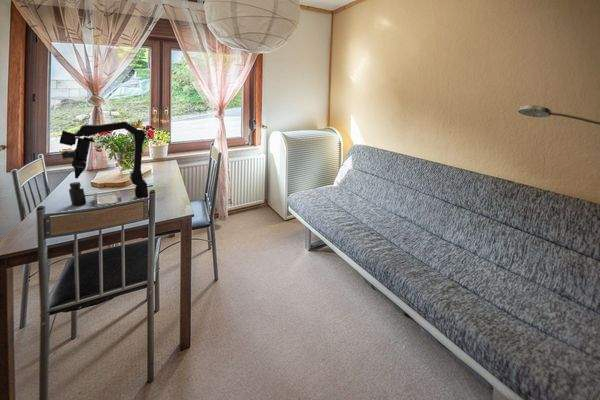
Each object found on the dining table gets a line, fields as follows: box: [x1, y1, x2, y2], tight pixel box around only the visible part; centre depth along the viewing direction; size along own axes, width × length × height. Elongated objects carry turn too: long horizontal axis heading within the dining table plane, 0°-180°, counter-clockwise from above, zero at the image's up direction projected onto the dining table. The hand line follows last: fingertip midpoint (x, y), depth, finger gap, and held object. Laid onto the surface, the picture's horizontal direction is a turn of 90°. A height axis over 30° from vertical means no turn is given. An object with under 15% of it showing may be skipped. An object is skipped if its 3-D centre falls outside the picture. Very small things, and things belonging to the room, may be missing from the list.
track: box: [93, 190, 123, 207], centre depth 191 cm, size 13×14×4 cm
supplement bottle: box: [68, 181, 87, 207], centre depth 184 cm, size 7×7×12 cm
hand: (76, 176), depth 182 cm, fingers open, 9 cm apart
